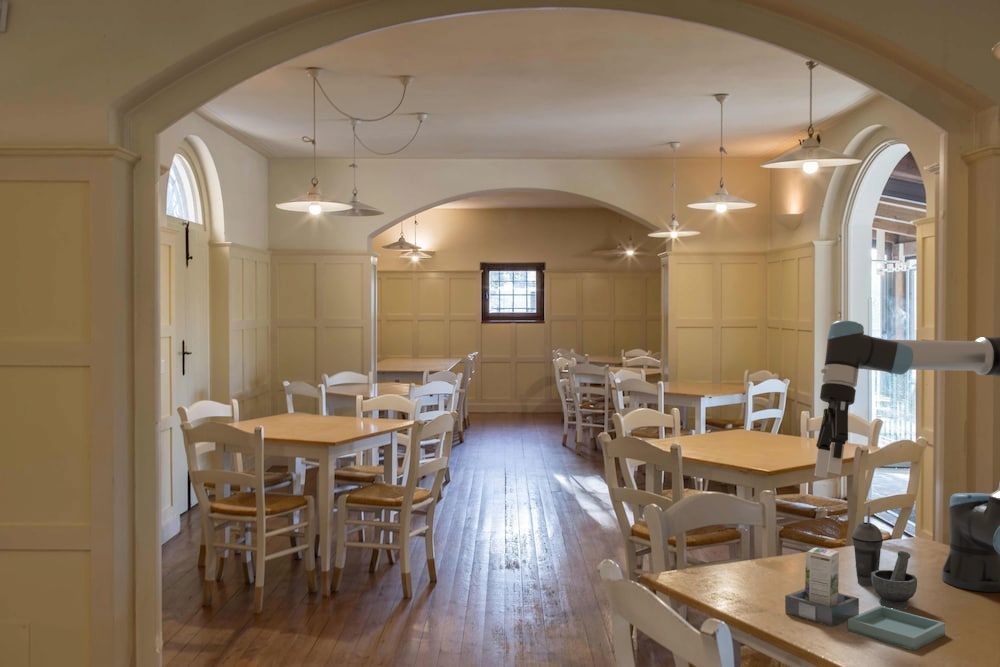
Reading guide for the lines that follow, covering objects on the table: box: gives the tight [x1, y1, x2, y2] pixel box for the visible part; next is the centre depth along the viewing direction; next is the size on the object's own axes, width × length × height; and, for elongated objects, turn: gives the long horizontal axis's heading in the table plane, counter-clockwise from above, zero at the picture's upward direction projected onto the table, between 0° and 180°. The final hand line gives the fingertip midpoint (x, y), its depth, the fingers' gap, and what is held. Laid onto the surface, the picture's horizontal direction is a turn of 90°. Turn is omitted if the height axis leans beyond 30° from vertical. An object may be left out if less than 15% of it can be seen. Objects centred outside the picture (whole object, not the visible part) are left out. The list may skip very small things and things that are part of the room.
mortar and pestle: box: [871, 550, 918, 610], centre depth 193 cm, size 11×9×12 cm
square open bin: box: [784, 588, 860, 628], centre depth 186 cm, size 12×11×4 cm
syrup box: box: [804, 547, 840, 606], centre depth 186 cm, size 6×6×14 cm
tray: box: [847, 605, 946, 652], centre depth 175 cm, size 14×14×2 cm
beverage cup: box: [851, 506, 884, 587], centre depth 209 cm, size 7×7×20 cm
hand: (826, 475), depth 189 cm, fingers open, 13 cm apart
